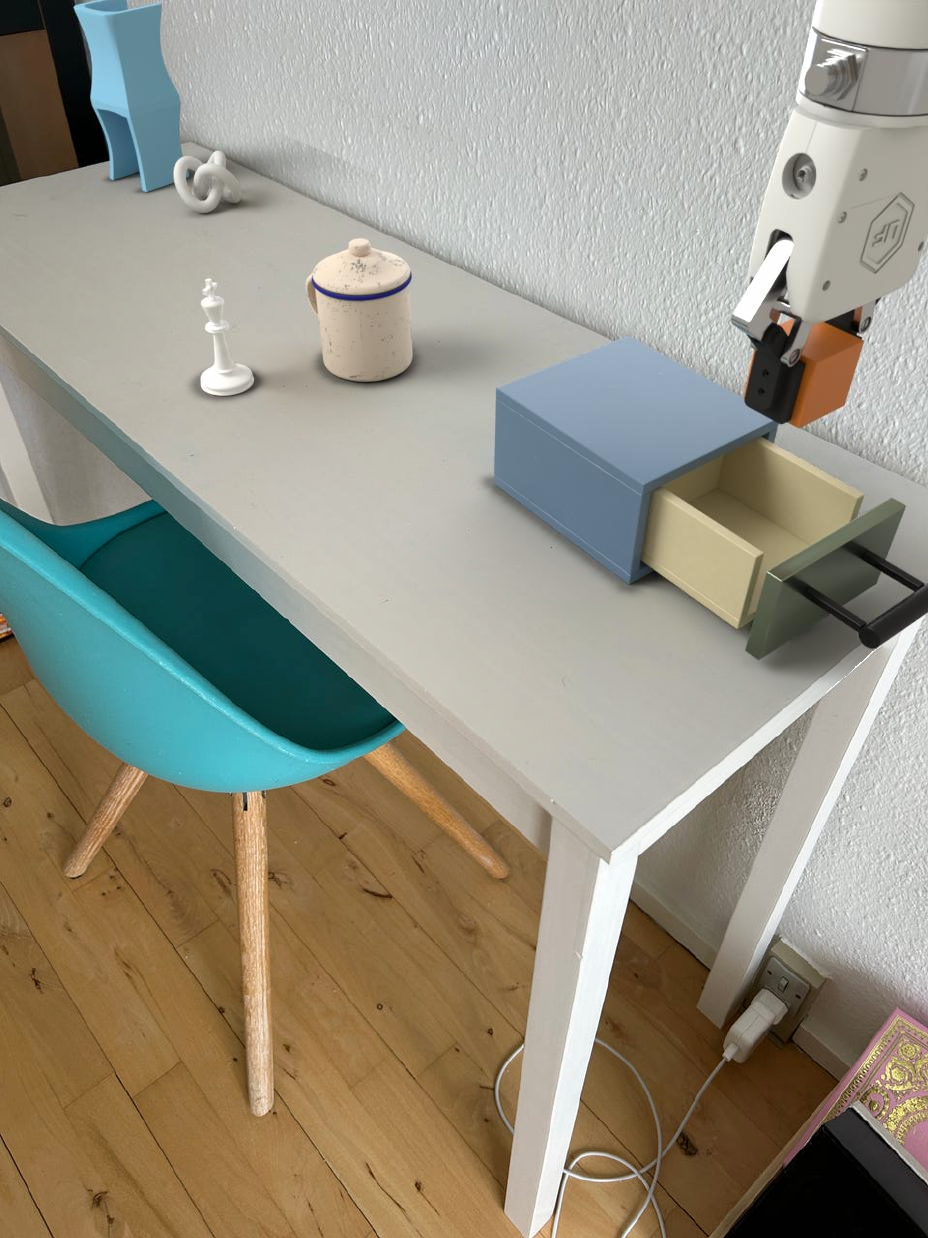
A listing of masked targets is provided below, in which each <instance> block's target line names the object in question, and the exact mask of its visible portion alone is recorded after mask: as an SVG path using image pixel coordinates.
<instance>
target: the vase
mask: <svg viewBox="0 0 928 1238" xmlns="http://www.w3.org/2000/svg"><path fill="white" fill-rule="evenodd" d="M73 9H74V12H75V14H76V16H77V18H78V20H79V23H80V25H81V28H82V30H83V33H84V35H85V39H86V41H87V44H88V45H87V46H88V49H89V53H90V59H91V89H90V102H91V106H92V109H93V111H94V112H95V115H96V116H97V119H98V121H99V123H100V125H101V128H102V131H103V133H104V136H105V139H106V142H107V146H108V153H109V155H108V156H109V179H110V180H112V181H116V180H118V179H122V178H124V177H127V176H130V175H133V174H137V173H139V177H140V183H141V190H142V191H143V192H145V193H149V192H152V191H154V190H157V189H160V188H163V187H165V186H169V185H171V184H175V182H174V167H175V164H176V162H177V161H178V160H179V159H180V158H181V157H184V154H183V150H182V143H181V136H180V135H181V134H180V128H181V127H180V126H181V125H180V124H181V123H180V122H181V109H182V107H181V106H182V102H181V101H182V100H181V96H180V94H179V92H178V90H177V87H175V85H174V82H173V81H172V78H171V76H170V74H169V72H168V69H167V67H166V64H165V61H164V60H165V59H164V57H163V53H162V45H161V44H162V43H161V22H162V12H163V4H162V3H157V2H156V3H152V4H147V5H144V6H143V5H142V6H138V7H133V8H130V9H129V8H128V0H94V1H88V2H83V3H79V4H76V5H74V6H73ZM189 177H190V173H189V169H187V171H186V179H187V178H189Z"/></svg>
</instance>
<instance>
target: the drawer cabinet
mask: <svg viewBox="0 0 928 1238" xmlns="http://www.w3.org/2000/svg"><path fill="white" fill-rule="evenodd" d="M494 413H495V414H494V415H495V419H494V456H493V457H494V458H493V459H494V460H493V484H494V485H495V486H497V488H498V489H500V490H502V491H503V492H504V493H506V494H507V495H508V496H510V497H511V498H513V500H514V501H516V502H518V503H519V504H520V505H522V506H523V507H525V508H526V509H527V510H528V511H529V512H531V513H533V514H534V515H535V516H536V517H538V518H539V519H541V520H542V521H543V522H545V523H546V524H547V525H548V526H550V527H552V529H554V530H555V531H556V532H558V533H559V534H561V535H562V536H563V537H565V538H566V539H567V540H569V541H570V542H572V543H573V544H574V545H575V546H577V548H579V549H581V550H582V551H583V552H585V553H586V554H587V555H588V556H590V557H591V558H592V559H594V560H595V561H596V562H597V563H599V564H600V565H602V566H604V567H605V568H606V569H607V570H609V572H611V573H612V574H614V575H616V576H617V577H618V578H619V579H621V580H622V581H623V582H625V583H626V584H627V585H631V584H633V583H635V582H637V581H639V580H640V579H642V578H643V577H646V576H648V575H649V574H651V573H653V572H656V571H655V570H654V569H653V568H651V567H650V566H648V565H647V564H646V563H644V562H643V561H641V554H642V548H643V541H644V535H645V529H646V522H647V516H648V510H649V503H650V497H651V491H652V490H654V489H656V488H658V487H660V486H662V485H664V484H666V483H668V482H670V481H672V480H674V479H676V478H678V477H680V476H682V475H684V474H686V473H688V472H690V471H692V470H694V469H696V468H698V467H700V466H702V465H704V464H706V463H708V462H710V461H712V460H714V459H716V458H718V457H720V456H722V455H724V454H726V453H728V452H730V451H732V450H734V449H736V448H738V447H740V446H742V445H744V444H746V443H748V442H750V441H752V440H754V439H756V438H758V437H760V436H761V437H763V438H765V439H766V440H768V441H770V442H772V443H774V444H775V440H776V437H777V433H778V428H779V425H780V424H778V423H777V422H775V421H773V420H771V419H769V418H768V417H766V416H764V415H762V414H760V413H758V412H757V411H755V410H753V409H751V408H749V407H748V406H747V405H746V404H745V401H744V398H743V396H742V395H739V394H737V393H735V392H734V391H732V390H730V389H728V388H726V387H724V386H722V385H721V384H719V383H717V382H715V381H713V380H711V379H709V378H708V377H706V376H704V375H702V374H700V373H698V372H696V371H694V370H692V369H691V368H689V367H687V366H685V365H683V364H681V363H679V362H677V361H676V360H674V359H672V358H670V357H668V356H667V355H664V354H663V353H660V352H659V351H657V350H655V349H653V348H652V347H650V346H648V345H646V344H644V343H643V342H641V341H638V340H636V339H635V338H634V337H631V336H629V335H626V336H623V337H621V338H618V339H616V340H614V341H611V342H608V343H605V344H603V345H601V346H598V347H595V348H593V349H590V350H588V351H585V352H583V353H581V354H578V355H575V356H573V357H571V358H568V359H566V360H563V361H560V362H558V363H555V364H553V365H551V366H548V367H545V368H543V369H540V370H538V371H536V372H532V373H530V374H527V375H524V376H522V377H520V378H517V379H514V380H513V381H510V382H508V383H505V384H502V385H500V386H498V387H496V388H495V411H494Z"/></svg>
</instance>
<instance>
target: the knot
mask: <svg viewBox="0 0 928 1238" xmlns="http://www.w3.org/2000/svg"><path fill="white" fill-rule="evenodd" d="M226 167H227V158H226V154H225V153H224V152H223V151H221V150H215V151H214V152H213V153H212V154H211V155H210V157H209V158H208V161H206V163H204V162H202V161H201V160H200V159H198V158H196V157H194V156H191V155H185V156H184V155H183V157H181V158H180V159H179V160H178V161H177V162H176V164H175V167H174V185H175V189H176V191H177V193H178V195H179V197H180V199H181V200H182V202H184V204H185V205H186V206H187V207H188V208H189V209H191V210H192V211H194V212H196V213H199V214H208V213H211V212H212V211H214V210H215V209H216V208H217V207H218V205H219V203H220V202H221V200H223V201H225V202H227V203H230V204H238V203H239V202H241V201H242V199H243V189H242V186H241V184H240V182H239V181H238V179H237V178H236V176H234V174H233V173H232V172H231V171H230V170H228V169H227V168H226ZM187 170H192V171H193V172H195V173H194V175H193V180H192V188H191V189H192V190H191V189H190V187H189V185H188V182H187V178H186V171H187ZM209 189H210V191H209ZM208 192H209V194H208ZM207 194H208V196H207ZM206 196H207V197H206Z"/></svg>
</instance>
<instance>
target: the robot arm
mask: <svg viewBox="0 0 928 1238" xmlns="http://www.w3.org/2000/svg"><path fill="white" fill-rule="evenodd" d="M811 22H812V24H811V25H810V26H811V27H810V31H809V36H808V40H807V45H806V49H805V54H804V59H803V62H802V63H803V64H802V68H801V73H800V77H799V81H798V86H797V91H796V95H795V102H796V103H797V105H796V106H795V107H794V108H793V109H792V111H791V116H790V118H789V121H788V123H787V126H786V128H785V131H784V134H783V137H782V139H781V143H780V146H779V149H778V151H777V155H776V158H775V161H774V163H773V167H772V171H771V174H770V178H769V181H768V184H767V187H766V191H765V195H764V198H763V202H762V205H761V208H760V213H759V216H758V220H757V224H756V229H755V233H754V238H753V242H752V247H751V252H750V256H749V262H748V269H747V279H746V280H747V281H746V287H747V289H746V291H745V293H744V294H743V296H742V298H741V300H740V301H739V302H738V304H737V305H736V308H735V310H734V311H733V313H732V315H731V318H730V321H731V324H732V325H733V326H734V327H735V328H737V329H738V330H740V331H741V332H743V333H744V334H745V335H746V336H747V337H748V339H749V341H750V348H751V349H752V350H754V349H755V354H754V359H753V363H752V367H751V372H750V376H749V381H748V385H747V390H746V394H745V398H744V401H745V404H746V405H747V406H748V407H749V408H751V409H753V410H755V411H757V412H758V413H760V414H762V415H764V416H766V417H768V418H769V419H771V420H773V421H775V422H777V423H778V424H779V425H784V424H787V422H788V421H790V420H791V417H792V414H793V410H794V406H795V402H796V399H797V395H798V391H799V387H800V384H801V380H802V376H803V373H804V369H805V365H806V363H804V362H802V361H800V360H799V359H800V357H801V354H802V352H803V349H804V347H805V344H806V342H807V339H808V337H809V334H810V332H811V329H812V327H813V324H818V323H822V322H825V323H827V324H829V325H831V326H833V327H836V328H838V329H840V330H842V331H844V332H847V333H849V334H851V335H853V336H855V337H857V338H860V339H862V340H863V337H862V336H860V335H864V334H865V333H866V332H868V331H869V329H870V327H871V325H872V324H873V320H874V314H875V308H876V306H877V304H878V303H879V302H880V300H881V299H882V298H883V297H885V296H887V295H889V294H891V293H893V292H895V291H897V290H900V289H902V287H905V286H906V285H907V283H909V282H910V281H911V280H912V279H913V278H914V276H915V274H916V272H917V270H918V267H919V264H920V261H921V257H922V255H923V251H924V248H925V245H926V243H927V242H926V241H927V238H928V0H816V3H815V7H814V12H813V16H812V21H811ZM786 295H787V296H786ZM781 314H783V315H784V316H787V317H788V318H790V319H795V321H794V323H793V326H792V328H791V331H790V334H789V336H788V335H787V334H786V332H785V330H784V329H783V327H782V326H780V325H779V324H778V323H779V320H780V317H781ZM858 334H859V335H858Z"/></svg>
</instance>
